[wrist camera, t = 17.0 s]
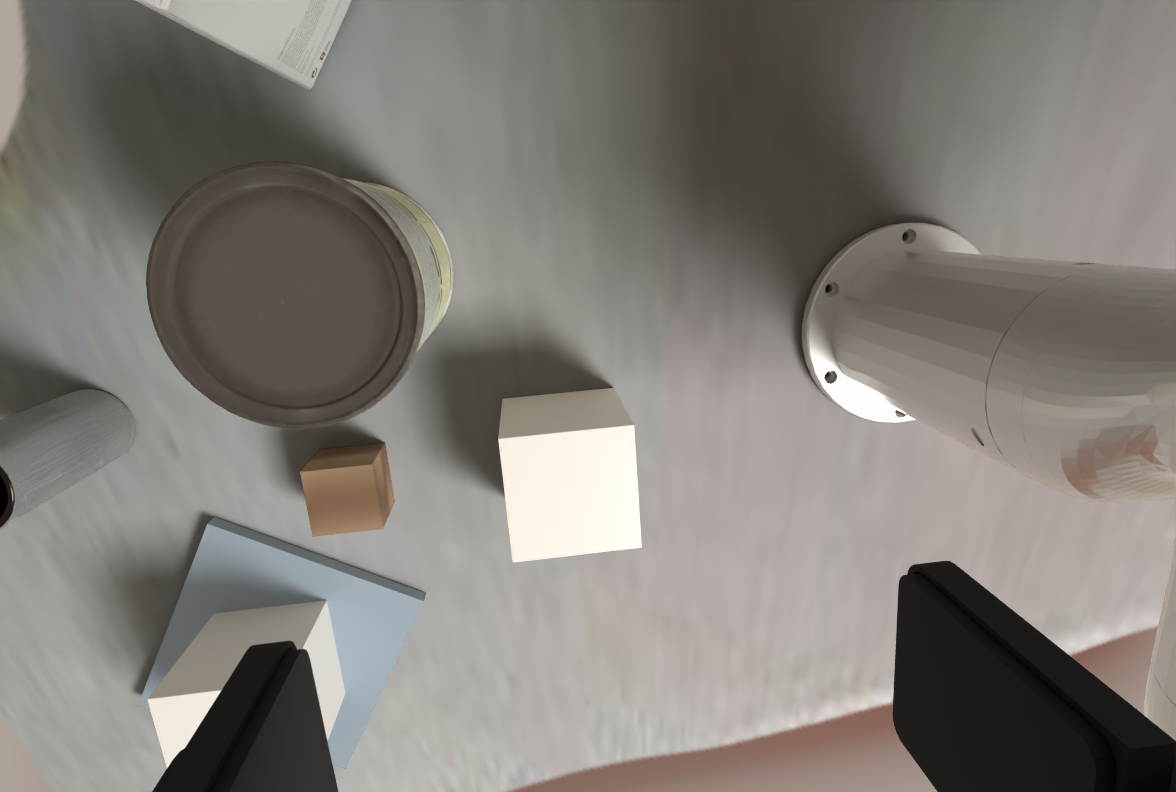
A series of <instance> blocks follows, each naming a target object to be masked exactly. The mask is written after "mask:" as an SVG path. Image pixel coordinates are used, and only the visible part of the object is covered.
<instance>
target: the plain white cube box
mask: <svg viewBox="0 0 1176 792" xmlns="http://www.w3.org/2000/svg"><path fill="white" fill-rule="evenodd" d="M498 441H499V449H500V458H501V466H502V475H503V483H504V492H505V500H506V509H507V517H508V526H509V534H510V543H511V551H512V560H513V562H521V561H530V560H538V559H547V558H556V557H564V556H573V555H581V554H590V553H599V552H607V551H616V550H624V549H633V548H642V545H641V529H640V513H639V497H638V481H637V465H636V449H635V433H634V424H633V422H632V420H631V419H630V417H629V415H628V413H627V411H626V409H625V408H624V406H623V404H622V402H621V400H620V398H619V397H618V395H617V393H616V391H615V389H614V388H606V389H596V390H586V391H576V392H565V393H555V394H545V395H535V396H525V397H515V398H505V399H502V408H501V417H500V427H499V437H498Z"/></svg>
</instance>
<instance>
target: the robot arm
mask: <svg viewBox="0 0 1176 792" xmlns="http://www.w3.org/2000/svg"><path fill="white" fill-rule="evenodd" d="M903 233H904V235H905V237H904V239H902V236H903ZM827 285H829V290H828V291H827V292H825V288H826V286H827ZM802 346H803V352H804V357H805V362H806V364H807V367H808V369H809V371H810V374H811V376H812V378H813V380H814V381H815V383H816V384H817V386H818V387H819V389H820V390H821V392H822V393H824V394H825V395H826V396H827V397H828V398H829V399H830V400H831V401H832V402H833V403H834V404H836V405H837V406H839V407H840V408H842V409H843V410H845V411H847V412H849V413H851V414H853V415H855V416H857V417H859V418H861V419H865V420H870V421H874V422H878V423H901V422H907V421H914V420H918V421H920V422H922V423H924V424H925V425H927V426H929V427H931V428H933V429H935V430H937V431H939V432H941V433H943V434H945V435H947V436H949V437H951V438H953V439H955V440H957V441H959V442H961V443H963V444H965V445H966V446H968V447H970V448H972V449H974V450H976V451H978V452H980V453H982V454H984V455H986V456H988V457H990V458H992V459H994V460H996V461H998V462H1000V463H1002V464H1004V465H1006V466H1007V467H1009V468H1011V469H1013V470H1015V471H1017V472H1019V473H1021V474H1023V475H1025V476H1027V477H1029V478H1031V479H1034V480H1036V481H1038V482H1040V483H1042V484H1044V485H1046V486H1048V487H1050V488H1052V489H1054V490H1056V491H1059V492H1062V493H1064V494H1067V495H1070V496H1073V497H1076V498H1080V499H1084V500H1089V501H1094V502H1104V503H1118V504H1129V503H1141V502H1150V501H1158V500H1164V499H1169V498H1173V497H1176V269H1161V268H1148V267H1135V266H1119V265H1106V264H1096V263H1083V262H1069V261H1056V260H1043V259H1030V258H1017V257H1005V256H992V255H982V253H981V252H980V251H979V250H978V249H977V248H976V247H975V246H974V245H973V243H971V242H970V241H968V240H967V239H966V238H964V237H963V236H961V235H960V234H959V233H957V232H954V231H952V230H949V229H947V228H945V227H942V226H938V225H932V224H926V223H900V224H893V225H887V226H884V227H881V228H878V229H875V230H872V231H869V232H867V233H866V234H864V235H862V236H860V237H859V238H857V239H855V240H853V241H852V242H850V243H849V244H848V245H847V246H846V247H844V248H843V249H842V250H841V251H839V252H838V253H837V254H836V255H835V256H834V257H833V259H832V260H831V261H830V262H829V263H828V264H827V266H826V267H825V268H824V269H823V270H822V272H821V274H820V275H819V277H818V279H817V281H816V282H815V284H814V286H813V287H812V290H811V293H810V295H809V298H808V301H807V303H806V306H805V311H804V317H803V322H802ZM827 371H828V375H827V376H826V377H825V378H824V375H825V374H826V372H827ZM1174 547H1175V553H1174V557H1173V562H1172V566H1171V571H1170V575H1169V580H1168V584H1167V589H1166V593H1165V598H1164V602H1163V607H1162V611H1161V616H1160V620H1159V625H1158V629H1157V634H1156V639H1155V644H1154V647H1153V652H1152V660H1151V665H1150V670H1149V675H1148V680H1147V687H1146V694H1145V702H1144V715H1143V714H1142V713H1140V712H1139V711H1138V710H1137V709H1135V708H1134V707H1133V706H1132V705H1130V704H1129V703H1128V702H1126V701H1125V700H1124V699H1123V698H1122V697H1120V696H1119V695H1118V694H1117V693H1115V692H1114V691H1113V690H1112V689H1110V688H1109V687H1108V686H1107V685H1105V684H1104V683H1103V682H1101V681H1100V680H1099V679H1098V678H1097V677H1095V676H1094V675H1093V674H1092V673H1090V672H1089V671H1088V670H1087V669H1085V668H1084V667H1083V666H1082V665H1080V664H1079V663H1078V662H1077V661H1075V660H1074V659H1073V658H1072V657H1070V656H1069V655H1068V654H1067V653H1065V652H1064V651H1063V650H1062V649H1060V648H1059V647H1058V646H1057V645H1055V644H1054V643H1053V642H1052V641H1050V640H1049V639H1048V638H1047V637H1045V636H1044V635H1043V634H1042V633H1040V632H1039V631H1038V630H1037V629H1035V628H1034V627H1033V626H1032V625H1030V624H1029V623H1028V622H1027V621H1025V620H1024V619H1023V618H1022V617H1020V616H1019V615H1018V614H1017V613H1015V612H1014V611H1013V610H1012V609H1010V608H1009V607H1008V606H1007V605H1005V604H1004V603H1003V602H1002V601H1000V600H999V599H998V598H997V597H995V596H994V595H993V594H992V593H990V592H989V591H988V590H987V589H985V588H984V587H983V586H982V585H980V584H979V583H978V582H977V581H975V580H974V579H973V578H972V577H970V576H969V575H968V574H967V573H965V572H964V571H963V570H962V569H960V568H959V567H958V566H957V565H955V564H954V563H952V562H950V561H940V562H932V563H924V564H916V565H913V566H911V567H910V568H909V570H908V574H907V575H903V576H902V577H901V578H900V580H899V590H898V612H897V633H896V655H895V676H894V698H893V721H894V726H895V729H896V732H897V734H898V737H899V738H900V740H901V742H902V743H903V745H904V746H905V747H906V749H907V750H908V751H909V753H910V754H911V756H912V757H913V758H914V760H915V761H916V763H917V764H918V765H919V767H920V768H921V769H922V771H923V772H924V773H925V775H926V776H927V777H928V779H929V780H930V782H931V783H932V785H933V786H934V787H935V789H936V790H937V791H938V792H1176V537H1175V543H1174ZM152 792H338V789H337V784H336V779H335V774H334V770H333V765H332V760H331V756H330V751H329V746H328V741H327V737H326V732H325V727H324V722H323V718H322V713H321V708H320V704H319V699H318V694H317V689H316V685H315V680H314V675H313V671H312V666H311V661H310V657H309V654H308V652H307V650H306V649H298V650H297V648H296V646H295V644H294V642H292V641H282V642H274V643H266V644H257V645H252V646H250V647H249V648H248V650H247V651H246V652H245V654H244V656H243V657H242V659H241V660H240V662H239V663H238V665H237V667H236V668H235V670H234V671H233V673H232V674H231V676H230V678H229V679H228V681H227V682H226V684H225V686H224V687H223V689H222V690H221V692H220V693H219V695H218V697H217V698H216V700H215V701H214V703H213V705H212V706H211V708H210V709H209V711H208V712H207V714H206V716H205V717H204V719H203V720H202V722H201V723H200V725H199V727H198V728H197V730H196V731H195V733H194V735H193V736H192V738H191V739H190V741H189V742H188V744H187V746H186V747H185V749H183V750H181V751H180V752H179V753H178V754H177V755H176V757H175V758H174V759H173V760H172V762H171V763H170V765H169V766H168V768H167V770H166V771H165V773H164V774H163V776H162V777H161V779H160V780H159V782H158V784H157V785H156V787H155V788H154V790H153V791H152Z"/></svg>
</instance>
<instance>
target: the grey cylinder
mask: <svg viewBox="0 0 1176 792" xmlns="http://www.w3.org/2000/svg"><path fill="white" fill-rule="evenodd" d="M134 437H135V423H134V420H133V417H132V415H131V413H130V411H129V410H128V408H127V407H126V406H125V405H124V404H123V403H122V402H121V401H120V400H119V399H118V398H116V397H114V396H113V395H111V394H109V393H107V392H104V391H100V390H95V389H83V390H78V391H74V392H71V393H68V394H65V395H63V396H60V397H58V398H55V399H53V400H50V401H48V402H45V403H42V404H40V405H37V406H35V407H32V408H30V409H27V410H25V411H22V412H19V413H17V414H14V415H12V416H9V417H7V418H4V419H2V420H0V529H1V528H2V527H4V526H6V525H7V524H9V523H11V522H12V521H14V520H16V519H17V518H19V517H21V516H22V515H24V514H26V513H27V512H29V511H31V510H32V509H34V508H36V507H37V506H39V505H41V504H42V503H44V502H46V501H47V500H49V499H51V498H52V497H54V496H56V495H57V494H59V493H61V492H62V491H64V490H66V489H67V488H69V487H71V486H72V485H74V484H76V483H77V482H79V481H81V480H82V479H84V478H86V477H87V476H89V475H91V474H92V473H94V472H96V471H97V470H99V469H101V468H102V467H104V466H106V465H107V464H109V463H111V462H112V461H114V460H116V459H117V458H119V457H120V456H121V455H123V454H124V453H125V452H126V451H127V450H128V449H129V448H130V446H131V445H132V443H133V440H134Z"/></svg>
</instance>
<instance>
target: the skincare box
mask: <svg viewBox="0 0 1176 792" xmlns="http://www.w3.org/2000/svg"><path fill="white" fill-rule="evenodd" d="M135 1H137V2H139V3H141V4H142V5H144V6H146V7H148V8H150V9H152V10H154V11H156V12H158V13H160V14H162V15H164V16H166V17H167V18H169V19H171V20H173V21H175V22H177V23H179V24H181V25H183V26H185V27H187V28H188V29H190V30H192V31H194V32H196V33H198V34H200V35H202V36H204V37H206V38H208V39H209V40H211V41H213V42H215V43H217V44H219V45H221V46H223V47H225V48H227V49H229V50H231V51H232V52H234V53H236V54H238V55H240V56H242V57H244V58H246V59H248V60H250V61H252V62H254V63H256V64H258V65H260V66H262V67H264V68H266V69H268V70H270V71H272V72H274V73H276V74H278V75H279V76H281V77H283V78H285V79H287V80H289V81H291V82H293V83H295V84H297V85H299V86H301V87H303V88H305V89H308V90H309V89H311V88H312V87H313V85H314V83H315V80H316V78H317V76H318V74H319V72H320V69H321V67H322V65H323V63H324V61H325V59H326V57H327V54H328V52H329V50H330V48H331V46H332V43H333V41H334V39H335V37H336V35H337V32H338V30H339V28H340V26H341V23H342V21H343V19H344V17H345V14H346V12H347V10H348V8H349V5H350V3H351V1H352V0H135Z"/></svg>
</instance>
